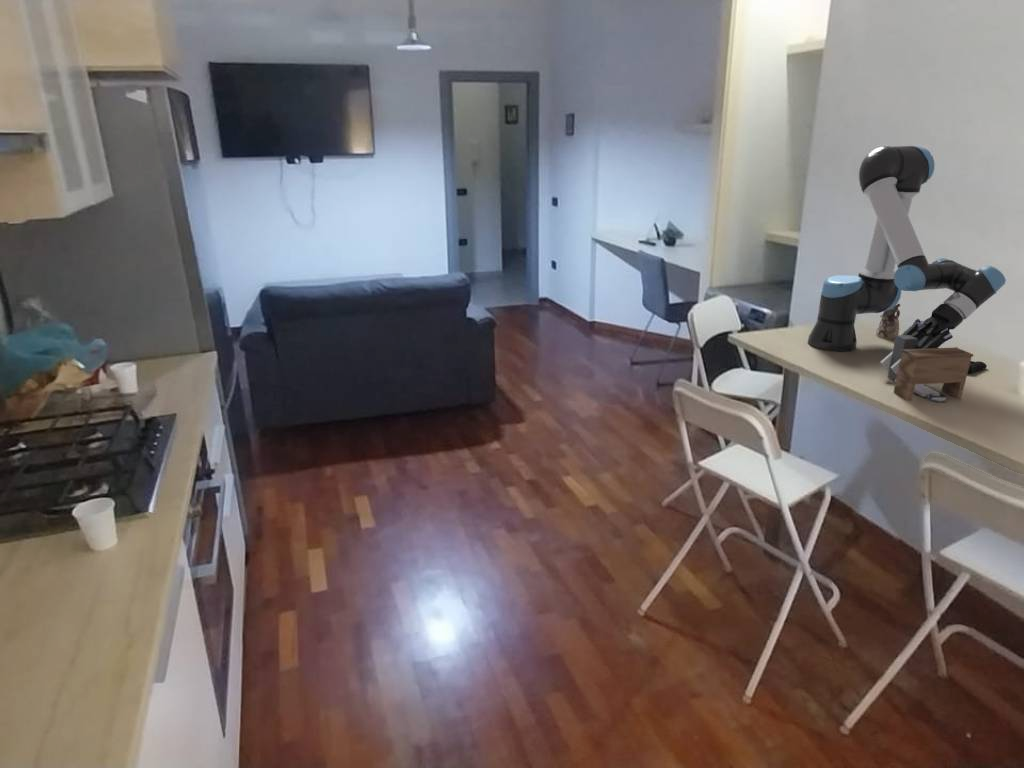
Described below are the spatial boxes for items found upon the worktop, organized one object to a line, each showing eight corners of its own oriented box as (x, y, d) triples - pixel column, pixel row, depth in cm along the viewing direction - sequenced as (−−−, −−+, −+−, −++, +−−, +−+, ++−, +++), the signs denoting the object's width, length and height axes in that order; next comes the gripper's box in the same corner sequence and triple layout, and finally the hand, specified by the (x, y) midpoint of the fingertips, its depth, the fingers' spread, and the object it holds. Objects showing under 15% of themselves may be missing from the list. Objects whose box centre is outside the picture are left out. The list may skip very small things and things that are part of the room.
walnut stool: (892, 391, 191) (901, 349, 186) (945, 389, 193) (956, 347, 188) (907, 400, 185) (917, 356, 180) (962, 397, 187) (973, 354, 182)
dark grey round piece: (923, 397, 187) (924, 392, 187) (939, 397, 187) (940, 393, 187) (932, 402, 183) (933, 398, 183) (948, 403, 183) (949, 399, 183)
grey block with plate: (885, 377, 202) (894, 335, 197) (901, 376, 203) (910, 334, 198) (922, 396, 187) (933, 352, 183) (939, 395, 188) (950, 351, 183)
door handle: (929, 344, 227) (904, 349, 219) (995, 360, 211) (970, 366, 203) (927, 354, 228) (901, 359, 220) (992, 370, 212) (967, 377, 204)
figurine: (871, 333, 247) (878, 301, 243) (891, 333, 247) (897, 301, 243) (881, 338, 240) (888, 306, 236) (901, 339, 240) (908, 306, 236)
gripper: (925, 296, 202) (864, 350, 205) (969, 310, 186) (901, 369, 189) (938, 312, 204) (876, 366, 208) (981, 328, 188) (914, 386, 192)
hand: (888, 367), depth 199 cm, fingers closed on grey block with plate, 4 cm apart
